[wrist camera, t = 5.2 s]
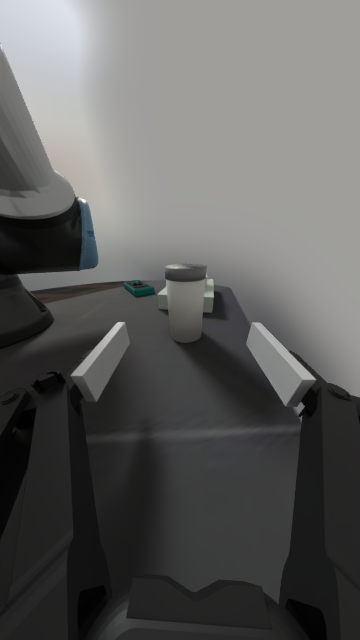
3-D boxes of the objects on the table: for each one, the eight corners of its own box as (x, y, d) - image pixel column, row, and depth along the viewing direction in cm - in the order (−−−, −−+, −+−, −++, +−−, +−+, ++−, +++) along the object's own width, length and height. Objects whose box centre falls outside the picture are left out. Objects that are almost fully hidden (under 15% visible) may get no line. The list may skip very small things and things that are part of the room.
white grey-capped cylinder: (165, 341, 24) (158, 269, 18) (173, 323, 29) (170, 263, 23) (200, 345, 22) (205, 269, 17) (202, 326, 28) (207, 263, 22)
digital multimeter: (141, 285, 60) (140, 279, 58) (155, 294, 49) (154, 286, 47) (124, 288, 56) (122, 281, 55) (135, 298, 45) (134, 289, 44)
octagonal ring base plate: (158, 308, 36) (156, 282, 33) (175, 288, 53) (175, 269, 50) (212, 312, 33) (215, 284, 30) (211, 290, 50) (213, 270, 47)
